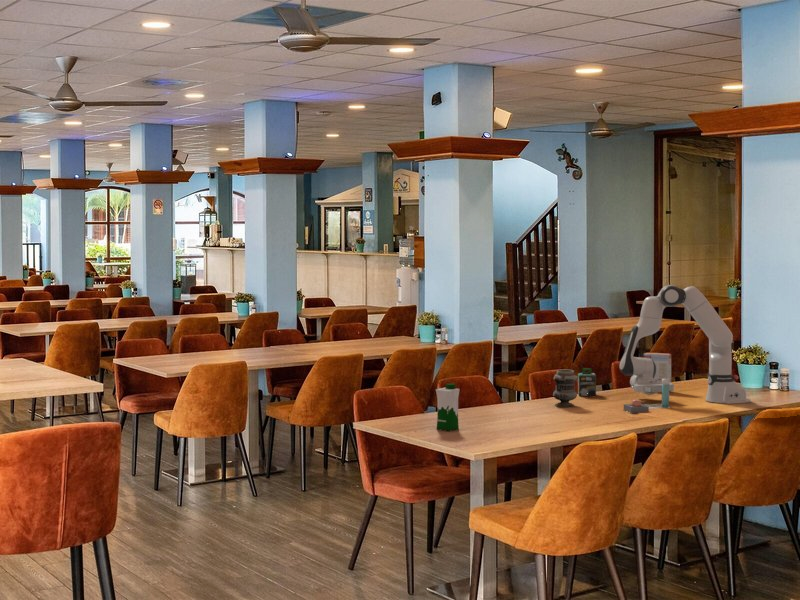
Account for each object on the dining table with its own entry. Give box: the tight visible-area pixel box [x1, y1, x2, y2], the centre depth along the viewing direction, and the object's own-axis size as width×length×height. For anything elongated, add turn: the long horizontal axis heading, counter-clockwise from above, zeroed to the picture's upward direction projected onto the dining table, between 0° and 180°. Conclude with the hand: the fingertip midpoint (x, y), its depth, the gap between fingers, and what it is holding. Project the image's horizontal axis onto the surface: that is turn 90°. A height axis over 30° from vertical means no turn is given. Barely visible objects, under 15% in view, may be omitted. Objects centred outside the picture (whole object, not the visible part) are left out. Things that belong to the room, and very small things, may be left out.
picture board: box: [643, 403, 672, 410], centre depth 504 cm, size 18×14×1 cm
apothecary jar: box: [552, 368, 578, 408], centre depth 509 cm, size 12×12×18 cm
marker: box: [661, 379, 670, 409], centre depth 501 cm, size 4×4×14 cm
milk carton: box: [435, 382, 460, 432], centre depth 448 cm, size 9×9×20 cm
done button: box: [630, 399, 642, 407], centre depth 492 cm, size 4×4×4 cm
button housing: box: [623, 403, 650, 414], centre depth 492 cm, size 9×9×3 cm
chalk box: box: [577, 367, 597, 397], centre depth 543 cm, size 9×9×15 cm
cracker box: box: [643, 352, 672, 383], centre depth 556 cm, size 14×6×21 cm, turn 59°
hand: (660, 389), depth 507 cm, fingers open, 8 cm apart
